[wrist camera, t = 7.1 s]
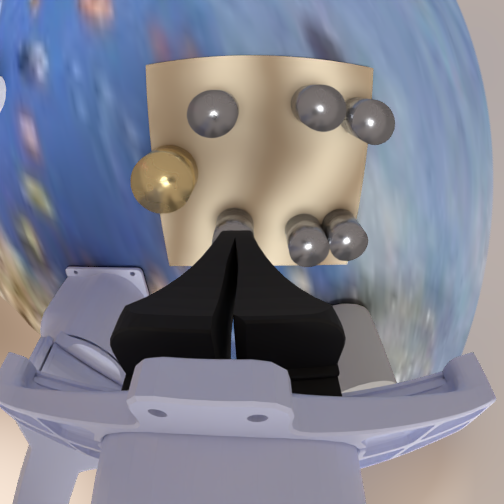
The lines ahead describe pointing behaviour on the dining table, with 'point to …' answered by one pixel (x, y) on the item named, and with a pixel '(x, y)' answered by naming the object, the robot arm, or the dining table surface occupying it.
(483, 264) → the dining table surface
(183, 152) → the gold dome
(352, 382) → the can
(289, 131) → the board
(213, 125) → the metal pegs
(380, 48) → the dining table surface
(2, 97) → the beverage cup
